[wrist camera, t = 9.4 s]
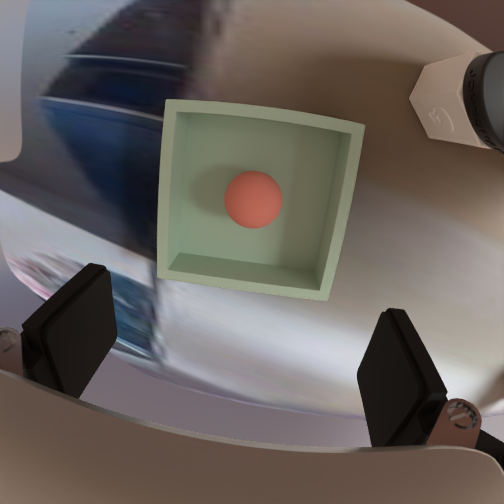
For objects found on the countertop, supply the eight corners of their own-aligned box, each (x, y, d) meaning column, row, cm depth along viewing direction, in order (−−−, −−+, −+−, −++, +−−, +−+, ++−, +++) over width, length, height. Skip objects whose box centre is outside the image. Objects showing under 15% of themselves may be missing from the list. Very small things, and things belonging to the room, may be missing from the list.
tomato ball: (285, 171, 28) (287, 180, 24) (278, 222, 30) (277, 240, 26) (232, 164, 28) (222, 171, 24) (226, 215, 30) (216, 232, 26)
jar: (394, 80, 25) (459, 62, 14) (449, 53, 23) (519, 35, 12) (435, 158, 27) (506, 180, 16) (484, 127, 25) (558, 139, 14)
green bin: (350, 124, 27) (365, 124, 22) (320, 276, 33) (327, 301, 29) (182, 103, 27) (165, 99, 22) (172, 256, 33) (157, 277, 29)
